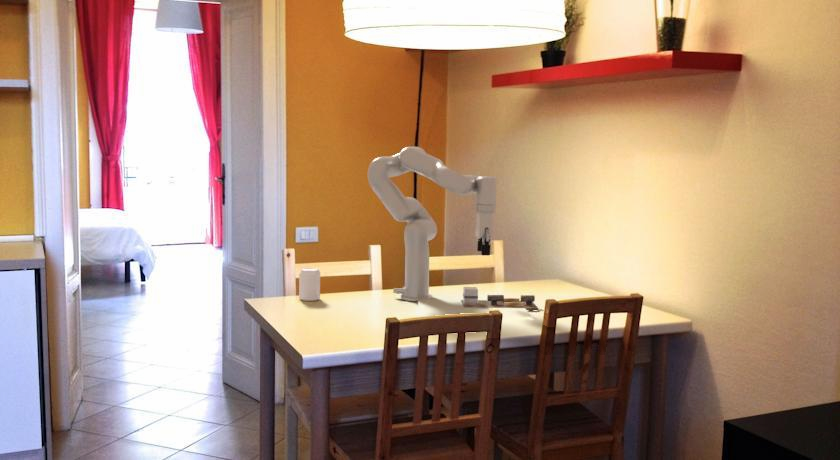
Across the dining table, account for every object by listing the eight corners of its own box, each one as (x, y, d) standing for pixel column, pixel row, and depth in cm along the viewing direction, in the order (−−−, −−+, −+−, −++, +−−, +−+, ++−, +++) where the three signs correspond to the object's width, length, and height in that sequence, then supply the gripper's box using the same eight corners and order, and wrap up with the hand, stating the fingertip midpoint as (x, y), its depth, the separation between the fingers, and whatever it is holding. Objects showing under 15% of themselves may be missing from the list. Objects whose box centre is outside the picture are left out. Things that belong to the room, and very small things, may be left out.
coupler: (464, 304, 303) (464, 289, 302) (462, 302, 308) (463, 286, 307) (477, 305, 303) (478, 289, 302) (476, 302, 308) (476, 286, 307)
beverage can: (322, 297, 316) (322, 267, 314) (317, 302, 308) (317, 271, 306) (301, 296, 316) (302, 267, 315) (296, 301, 308) (296, 270, 307)
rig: (464, 310, 299) (464, 297, 298) (460, 302, 312) (461, 290, 311) (538, 311, 300) (538, 298, 300) (531, 303, 313) (532, 291, 313)
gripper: (472, 206, 312) (470, 249, 314) (479, 210, 295) (477, 256, 297) (491, 206, 313) (489, 250, 315) (499, 211, 296) (497, 257, 298)
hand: (483, 253), depth 306 cm, fingers open, 9 cm apart
